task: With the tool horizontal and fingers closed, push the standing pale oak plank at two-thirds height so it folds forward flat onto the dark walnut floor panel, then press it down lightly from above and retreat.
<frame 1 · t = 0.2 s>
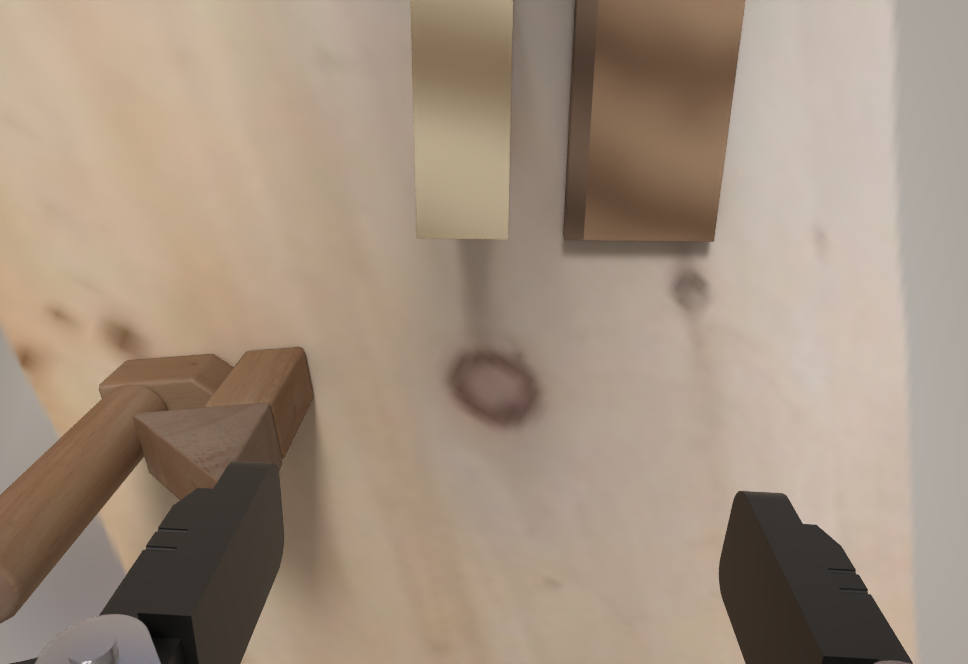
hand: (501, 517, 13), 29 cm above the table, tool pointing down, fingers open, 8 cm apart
floor panel: (652, 51, 37), on the table
oak plank: (473, 60, 37), on the table
wooden block: (222, 376, 44), on the table
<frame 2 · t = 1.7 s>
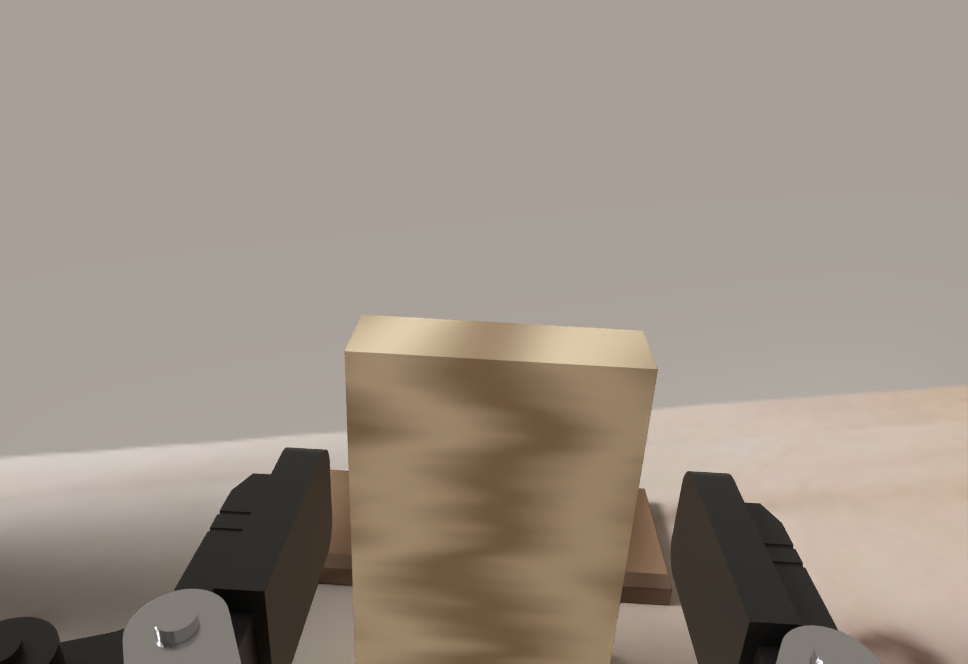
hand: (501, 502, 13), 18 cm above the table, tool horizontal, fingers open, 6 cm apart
floor panel: (477, 538, 40), on the table
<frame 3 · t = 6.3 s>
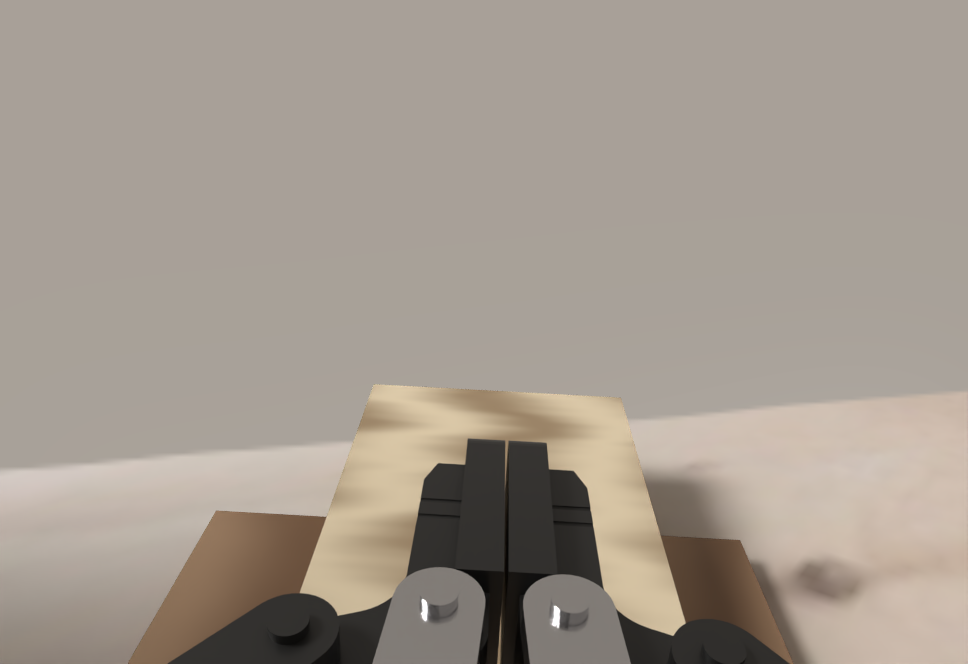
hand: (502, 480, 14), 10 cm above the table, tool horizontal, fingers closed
floor panel: (471, 632, 23), on the table
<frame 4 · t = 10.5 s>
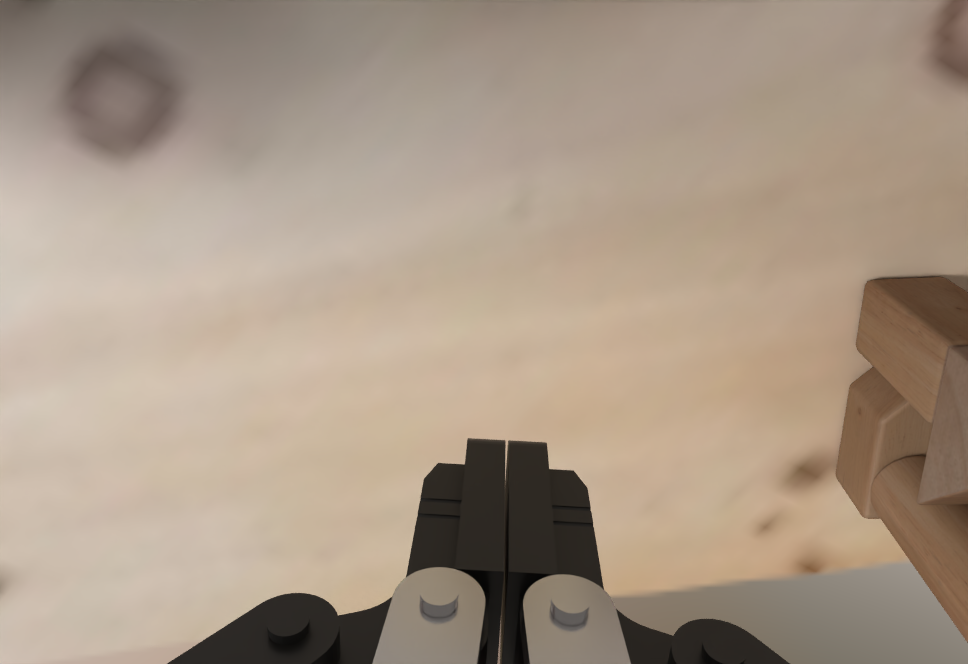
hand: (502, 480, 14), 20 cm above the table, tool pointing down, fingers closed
wooden block: (882, 379, 35), on the table
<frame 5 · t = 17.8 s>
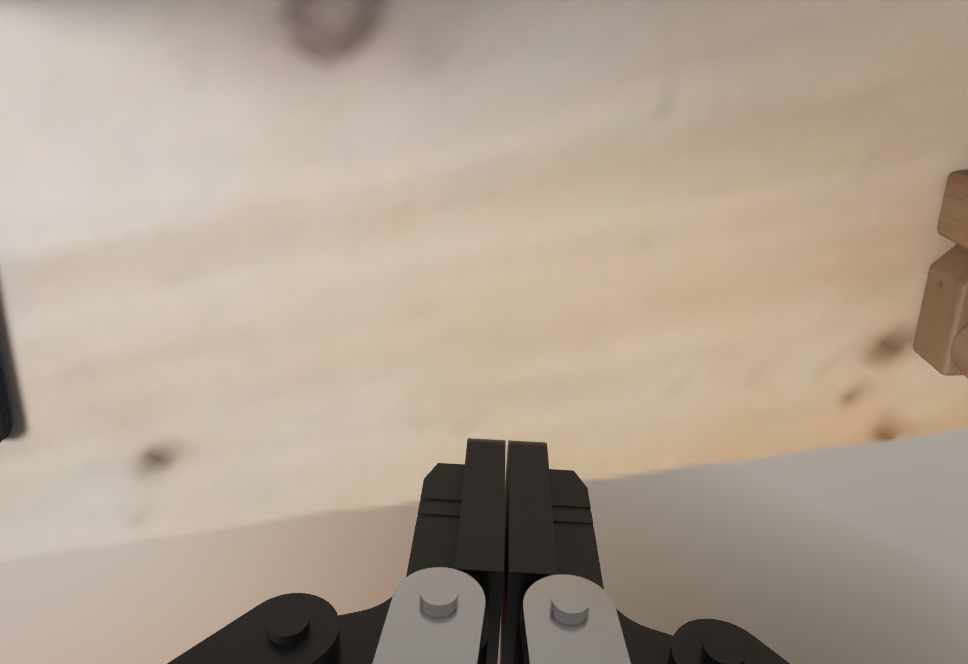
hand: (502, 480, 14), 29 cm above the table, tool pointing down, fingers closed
wooden block: (956, 262, 42), on the table
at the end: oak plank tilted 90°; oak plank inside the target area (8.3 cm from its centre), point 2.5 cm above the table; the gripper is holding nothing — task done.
